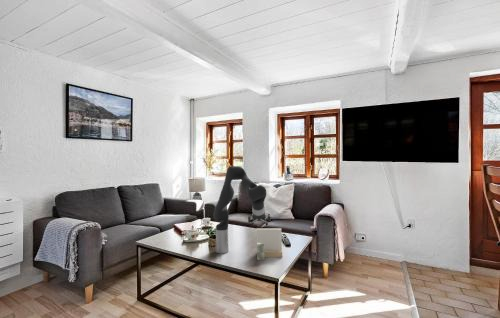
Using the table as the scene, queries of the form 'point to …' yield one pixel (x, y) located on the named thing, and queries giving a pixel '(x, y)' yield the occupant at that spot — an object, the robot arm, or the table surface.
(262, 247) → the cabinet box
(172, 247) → the table surface
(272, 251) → the wall board
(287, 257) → the table surface
